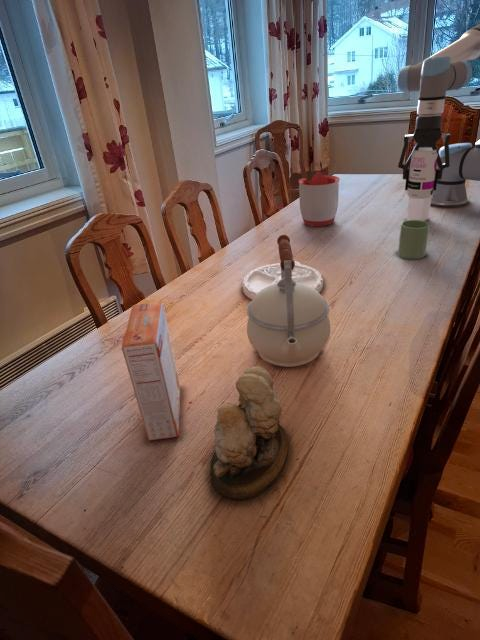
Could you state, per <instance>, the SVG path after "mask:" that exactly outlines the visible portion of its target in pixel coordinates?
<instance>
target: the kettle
mask: <svg viewBox="0 0 480 640" xmlns="http://www.w3.org/2000/svg"><path fill="white" fill-rule="evenodd" d="M276 243H277V245H278V255H279V260H280V266H281V280H280V281H279V282H278V283H277V284H273V285H270V286H268V287H266V288H264V289H262V290H261V291H259V292H258V293H257V294H256V296H255V297H254V298H253V300H252V299H251V301H250V302H249V303H248V305H247V307H246V316H247V317H248V318H247V321H246V322H247V323H246V336H247V338H248V341H249V344H250V345H251V346H252V348H254V350H255V351H256V352H258V355H259V356H260V358H261V359H262V360H264V361H265V362H266V363H269V364H271V365H274V366H276V367H277V366H278V367H283V368H285V367H286V368H291V367H299V366H304V365H306V364H308V363H311V362H313V361H314V360H315V359H316V358H317V357H318V356H319V354H320V353H321V350H322V349H323V348H324V347H325V346H326V344H327V343H328V341H329V339H330V335H331V321H330V318H329V312H330V305H329V303H328V301H327V300H326V299H325V298H324V297H323V296H322V295H321V294H320V293H319V292H318V291H316V290H315V289H314V288H312V287H310V286H308V285H305V284H301V283H296V282H294V281H293V280H292V270H293V269H294V266H295V263H294V261H295V260H294V257H293V256H294V255H293V251H292V246H291V239H290V237H289V236H288V235H287V234H279V236H278V237H277V241H276Z"/></svg>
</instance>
